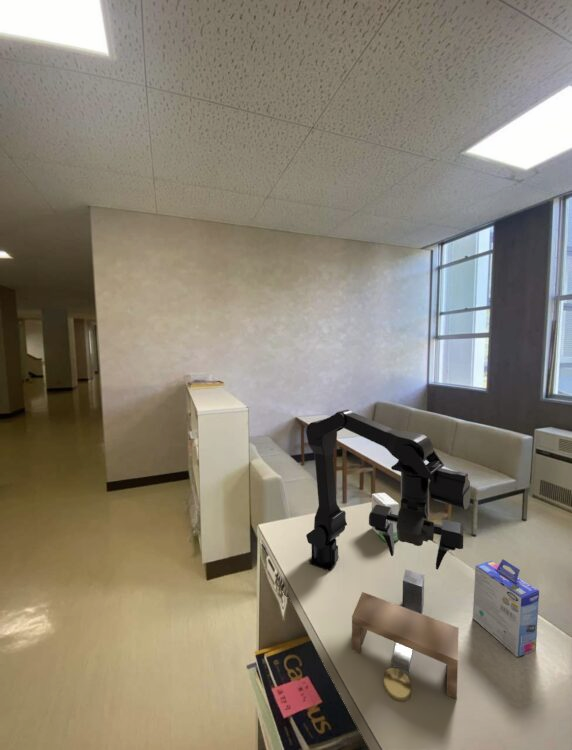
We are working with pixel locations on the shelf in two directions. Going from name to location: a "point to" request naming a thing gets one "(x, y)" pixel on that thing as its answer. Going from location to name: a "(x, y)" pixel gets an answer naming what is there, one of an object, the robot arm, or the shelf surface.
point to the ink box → (388, 502)
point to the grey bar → (414, 602)
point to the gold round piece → (397, 685)
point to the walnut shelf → (407, 632)
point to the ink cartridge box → (506, 606)
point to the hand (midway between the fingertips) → (414, 561)
